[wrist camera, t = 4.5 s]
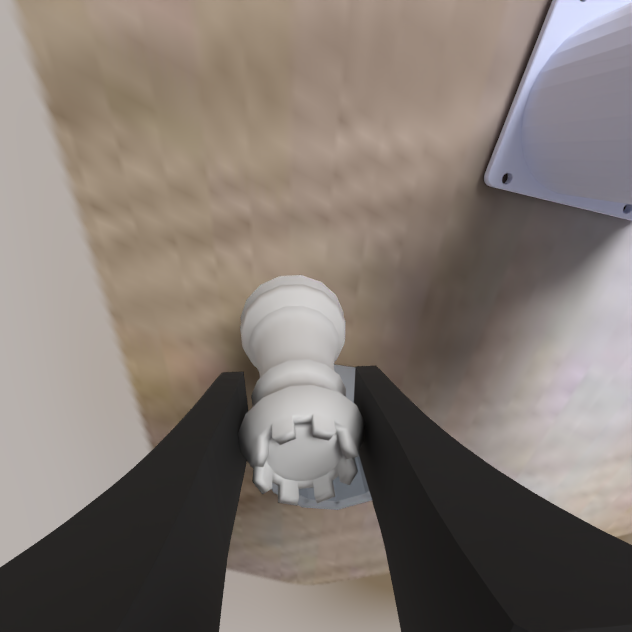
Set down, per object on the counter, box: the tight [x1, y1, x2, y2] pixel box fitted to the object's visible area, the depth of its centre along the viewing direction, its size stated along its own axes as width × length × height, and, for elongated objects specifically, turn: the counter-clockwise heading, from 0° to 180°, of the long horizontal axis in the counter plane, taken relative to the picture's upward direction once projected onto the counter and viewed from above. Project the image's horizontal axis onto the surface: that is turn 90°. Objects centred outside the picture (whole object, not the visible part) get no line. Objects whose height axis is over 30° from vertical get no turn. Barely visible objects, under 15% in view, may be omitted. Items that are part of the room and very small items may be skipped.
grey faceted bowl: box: [272, 365, 372, 510], centre depth 21 cm, size 9×9×4 cm
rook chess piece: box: [238, 275, 365, 506], centre depth 11 cm, size 4×4×8 cm
